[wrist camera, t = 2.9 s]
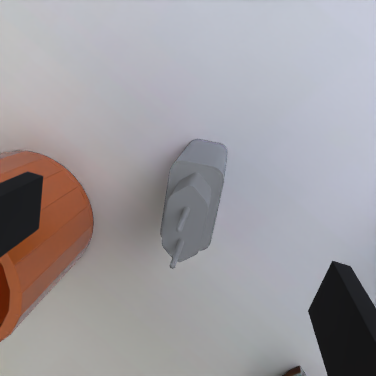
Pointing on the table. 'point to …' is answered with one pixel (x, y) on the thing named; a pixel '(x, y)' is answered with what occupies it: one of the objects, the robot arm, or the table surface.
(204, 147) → the power adapter
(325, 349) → the robot arm
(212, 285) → the table surface
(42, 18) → the table surface
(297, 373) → the food container
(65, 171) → the orange flower pot
